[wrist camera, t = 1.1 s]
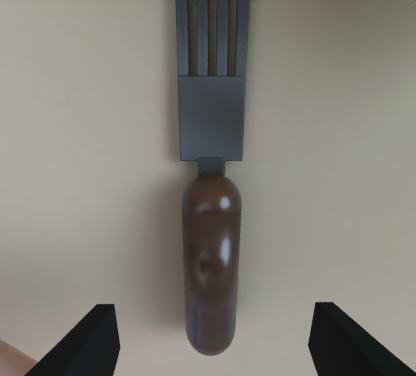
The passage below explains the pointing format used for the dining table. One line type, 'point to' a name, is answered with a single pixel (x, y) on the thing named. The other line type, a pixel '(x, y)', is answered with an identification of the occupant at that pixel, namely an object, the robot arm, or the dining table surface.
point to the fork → (211, 174)
